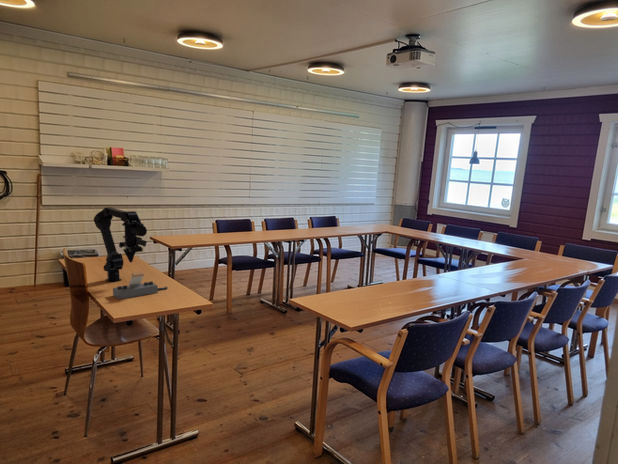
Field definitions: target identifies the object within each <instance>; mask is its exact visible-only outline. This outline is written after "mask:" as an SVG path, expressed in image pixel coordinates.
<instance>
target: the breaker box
mask: <svg viewBox="0 0 618 464" xmlns="http://www.w3.org/2000/svg"><path fill="white" fill-rule="evenodd" d="M167 289H168V286H162V287H159V286H158V285H157V284H156V283H154V281H145V282H142V283H140V285H137V286H131V287H130V286H129V285H125V284H124V285H121V286H117V287H113V288H112V296H113V297H114V298H116V299H117V300H123V299H125V300H126V299H130V298H136V297H141V296H148V295H153V294H159V291H163V290H167Z"/></svg>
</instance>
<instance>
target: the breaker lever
mask: <svg viewBox="0 0 618 464" xmlns="http://www.w3.org/2000/svg"><path fill="white" fill-rule="evenodd" d="M144 272H145V271H143V270H141V271H133V272H131V277H130V281H129V283H128V286H130V287H131V286H137V285H140V284H142V283H141V282H142V280H143V277H144V276H145V273H144Z"/></svg>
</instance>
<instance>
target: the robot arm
mask: <svg viewBox="0 0 618 464" xmlns="http://www.w3.org/2000/svg"><path fill="white" fill-rule="evenodd" d="M114 217H115V218H118V219H120V220H121V221H122V226H124V235H123V239H124V241H120V242H119V244H118V247H119V248H120V249H122V248H124V249H122V251H123V252H124V254H125V255H126V257H127V259H128V262H129V263H133V261H134V258H135V254H136V253H141V252H143V247H145V248H146V246H147V242H148V241H147V240H145V239H143V238H142V237H144V236H146V234H147V233H148V230H147V227H146V226H145V225H144V223H142V221H141V219H140V217H139V215H138V213H137V211H134V210H133V211H132V210H130V211H129V210H127V211H126V210H122V209H117V208H114V207H112V206H110V207H109V206H108V207H104V208H103V209H102V210H101V211H99V212H97V213H96V215H95V216H94V217H93V222H94V225H95V227H96V228H97V229H98V230H99V231H100V233H101V237H102V240H103V243H104V247H105V251H106V253H107V254H106V259H105V261H106V263H105V264H104V266H103V271H104V272H107V273H106V274H107V278H105V281H106V282H110V283H115V282H118V281H122V278H120V270H122V269H123V267H124V262H125V261H124V259H123V255H122V253H119V252H118V250H117V248H116V244H115V241H114V239H113V235H112V230H111V225H112V219H113V218H114ZM142 246H143V247H142Z"/></svg>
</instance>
